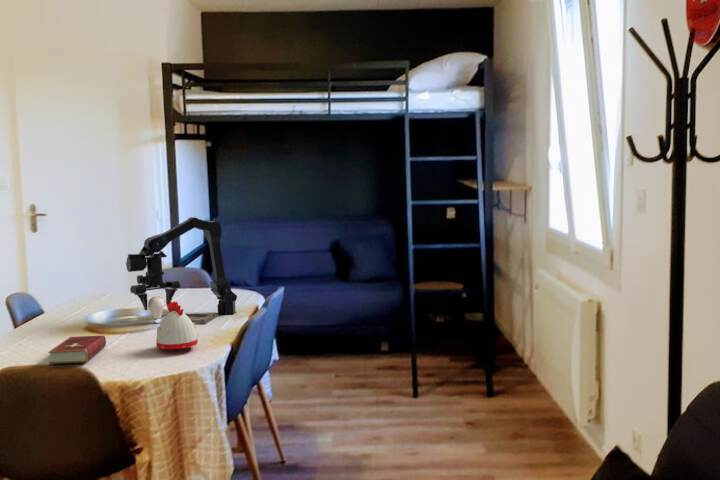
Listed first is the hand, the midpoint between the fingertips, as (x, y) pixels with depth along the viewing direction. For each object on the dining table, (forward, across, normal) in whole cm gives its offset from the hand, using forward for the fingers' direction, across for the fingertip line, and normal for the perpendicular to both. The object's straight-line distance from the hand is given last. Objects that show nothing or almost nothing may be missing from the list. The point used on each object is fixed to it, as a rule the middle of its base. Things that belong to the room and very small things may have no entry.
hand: (157, 308), depth 288 cm
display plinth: (+6, -13, +6) cm, 16 cm away
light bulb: (+6, 0, 0) cm, 6 cm away
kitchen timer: (+6, +11, +37) cm, 39 cm away
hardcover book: (+7, +40, +24) cm, 48 cm away
